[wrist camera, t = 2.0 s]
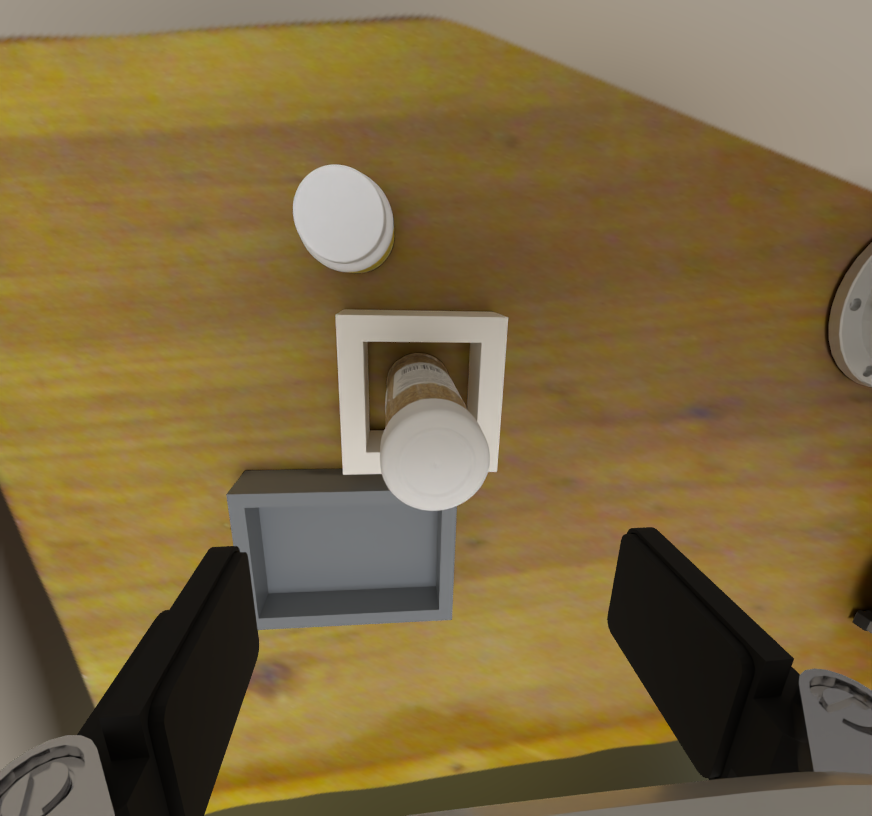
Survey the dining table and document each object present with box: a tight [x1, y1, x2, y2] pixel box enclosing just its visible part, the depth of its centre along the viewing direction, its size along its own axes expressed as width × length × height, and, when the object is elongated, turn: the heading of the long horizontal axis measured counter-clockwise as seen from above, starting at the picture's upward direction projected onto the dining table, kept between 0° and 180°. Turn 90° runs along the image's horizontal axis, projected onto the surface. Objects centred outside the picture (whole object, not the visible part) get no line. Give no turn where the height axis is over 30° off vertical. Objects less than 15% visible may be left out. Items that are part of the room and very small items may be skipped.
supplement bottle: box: [293, 164, 395, 273], centre depth 22 cm, size 5×5×8 cm
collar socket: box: [335, 309, 508, 475], centre depth 28 cm, size 10×10×4 cm
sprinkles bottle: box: [380, 353, 490, 511], centre depth 23 cm, size 5×5×14 cm
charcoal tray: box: [226, 469, 457, 630], centre depth 31 cm, size 15×11×4 cm
